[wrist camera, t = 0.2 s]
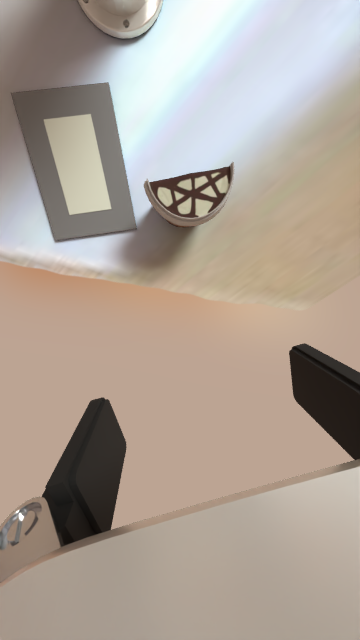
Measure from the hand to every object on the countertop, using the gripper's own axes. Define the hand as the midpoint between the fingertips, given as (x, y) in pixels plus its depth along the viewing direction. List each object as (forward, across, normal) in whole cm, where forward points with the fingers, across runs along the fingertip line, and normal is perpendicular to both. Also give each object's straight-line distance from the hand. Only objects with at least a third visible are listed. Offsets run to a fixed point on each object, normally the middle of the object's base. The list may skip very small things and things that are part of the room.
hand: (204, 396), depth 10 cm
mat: (+30, +9, -24) cm, 40 cm away
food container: (+31, -6, -14) cm, 34 cm away
